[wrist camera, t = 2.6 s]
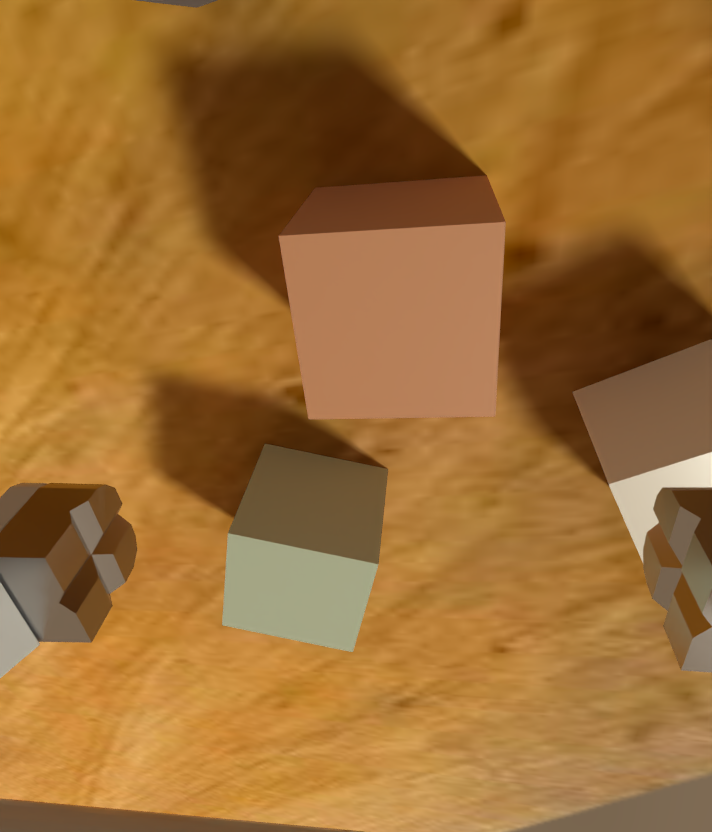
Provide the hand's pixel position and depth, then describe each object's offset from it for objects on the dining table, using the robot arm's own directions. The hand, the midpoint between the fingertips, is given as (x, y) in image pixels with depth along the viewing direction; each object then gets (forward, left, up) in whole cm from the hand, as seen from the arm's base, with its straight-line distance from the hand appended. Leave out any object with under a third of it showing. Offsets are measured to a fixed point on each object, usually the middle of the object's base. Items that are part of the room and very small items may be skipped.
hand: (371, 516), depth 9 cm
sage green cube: (+10, -4, -11) cm, 16 cm away
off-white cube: (+6, +9, -11) cm, 16 cm away
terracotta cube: (0, 0, -11) cm, 11 cm away
